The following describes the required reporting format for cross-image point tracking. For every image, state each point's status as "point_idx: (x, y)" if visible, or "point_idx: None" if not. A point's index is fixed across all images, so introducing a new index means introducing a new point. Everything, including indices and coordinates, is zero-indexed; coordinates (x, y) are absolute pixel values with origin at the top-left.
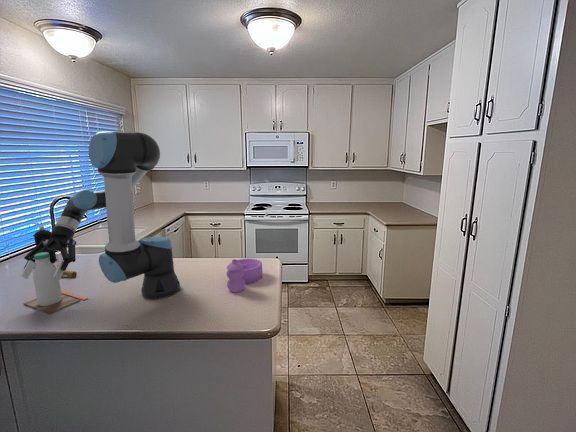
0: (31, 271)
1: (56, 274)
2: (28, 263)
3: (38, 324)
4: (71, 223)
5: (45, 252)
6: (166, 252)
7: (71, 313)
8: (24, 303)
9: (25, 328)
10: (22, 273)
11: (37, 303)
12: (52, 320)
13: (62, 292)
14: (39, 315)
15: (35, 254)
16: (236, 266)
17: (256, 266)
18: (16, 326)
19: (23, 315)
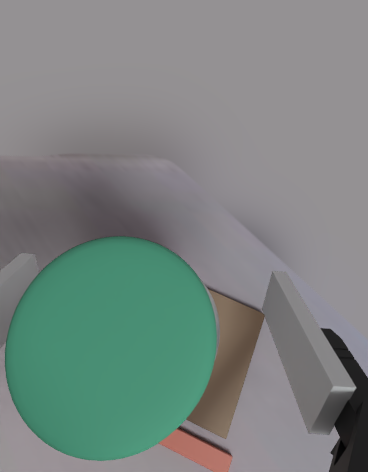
0: (278, 351)
1: (10, 267)
2: (320, 351)
3: (95, 185)
4: None
5: (84, 417)
6: None
7: (26, 247)
8: (259, 313)
9: (118, 167)
10: (287, 283)
11: None
12: (66, 206)
13: (181, 438)
14: (134, 236)
15: (192, 295)
16: None
17: None
18: (154, 177)
19: (190, 236)
